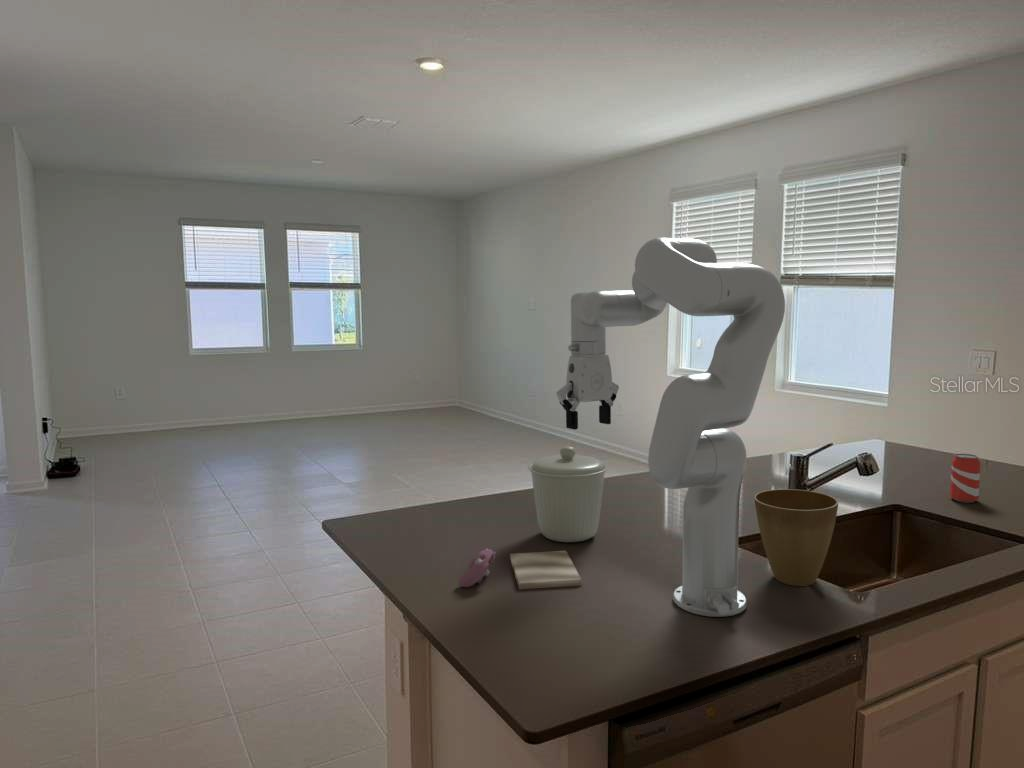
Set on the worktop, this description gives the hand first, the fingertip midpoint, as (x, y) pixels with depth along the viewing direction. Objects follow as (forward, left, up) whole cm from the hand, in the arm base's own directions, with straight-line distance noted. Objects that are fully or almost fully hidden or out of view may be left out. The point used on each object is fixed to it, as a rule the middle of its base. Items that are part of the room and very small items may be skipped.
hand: (588, 426), depth 157 cm
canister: (+5, +4, -27) cm, 27 cm away
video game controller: (-18, +26, -27) cm, 42 cm away
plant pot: (-27, -34, -27) cm, 51 cm away
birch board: (-16, +13, -26) cm, 34 cm away
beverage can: (+16, -104, -27) cm, 109 cm away
